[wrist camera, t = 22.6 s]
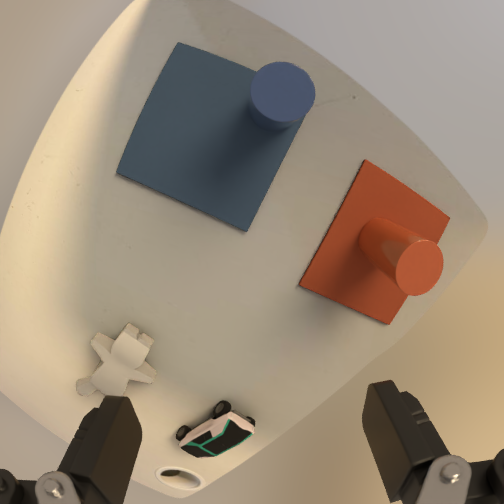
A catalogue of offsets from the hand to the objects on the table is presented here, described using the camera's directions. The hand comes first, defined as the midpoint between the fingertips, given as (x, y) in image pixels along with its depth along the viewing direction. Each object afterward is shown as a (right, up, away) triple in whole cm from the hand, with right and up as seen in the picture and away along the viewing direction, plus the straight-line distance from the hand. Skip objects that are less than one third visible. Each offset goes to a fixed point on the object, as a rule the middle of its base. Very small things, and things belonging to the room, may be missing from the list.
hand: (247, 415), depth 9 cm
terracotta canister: (+15, +7, +25) cm, 30 cm away
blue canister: (+2, +20, +21) cm, 29 cm away
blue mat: (-4, +18, +22) cm, 28 cm away
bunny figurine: (-18, -10, +30) cm, 36 cm away
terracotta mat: (+15, +6, +26) cm, 30 cm away
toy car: (-5, -21, +34) cm, 40 cm away
